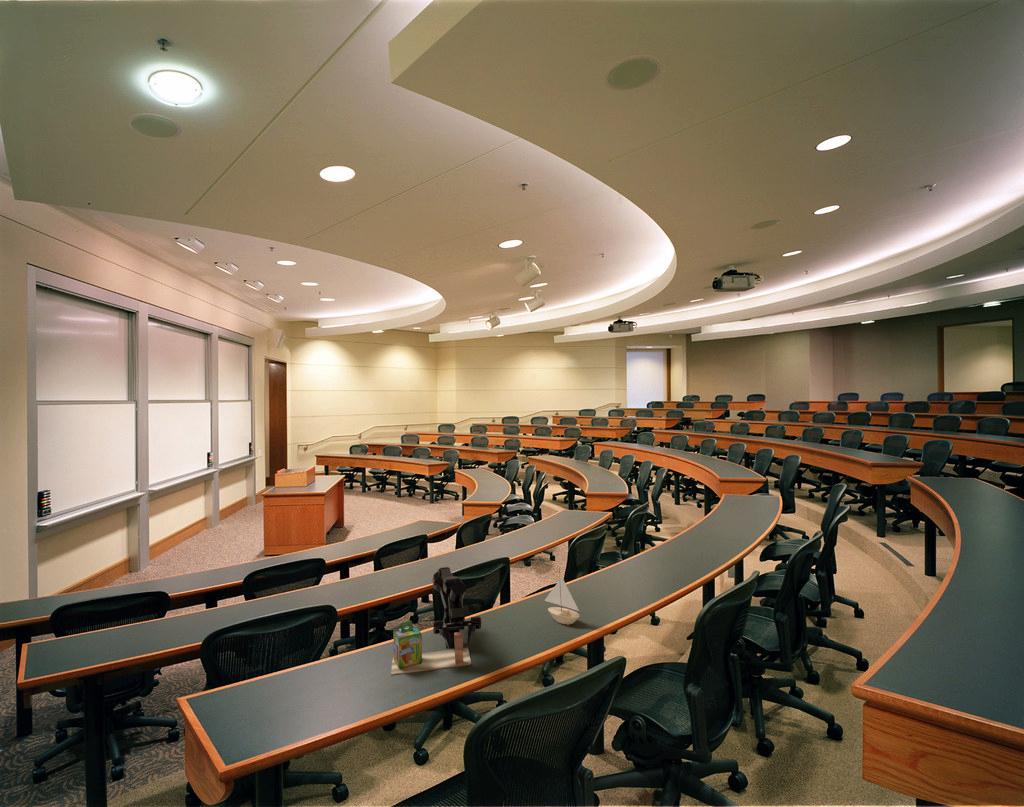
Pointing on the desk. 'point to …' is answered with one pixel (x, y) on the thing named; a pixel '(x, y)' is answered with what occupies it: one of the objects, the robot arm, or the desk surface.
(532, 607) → the desk surface
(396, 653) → the chalk box
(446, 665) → the birch strip
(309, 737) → the desk surface
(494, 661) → the desk surface
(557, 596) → the toy sailboat
